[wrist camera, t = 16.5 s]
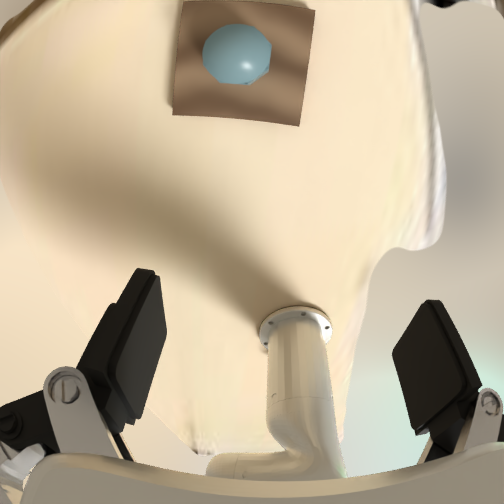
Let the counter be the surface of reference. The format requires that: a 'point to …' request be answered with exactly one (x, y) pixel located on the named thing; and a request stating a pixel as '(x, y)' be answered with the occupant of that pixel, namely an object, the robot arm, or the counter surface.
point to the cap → (237, 54)
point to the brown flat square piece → (262, 90)
